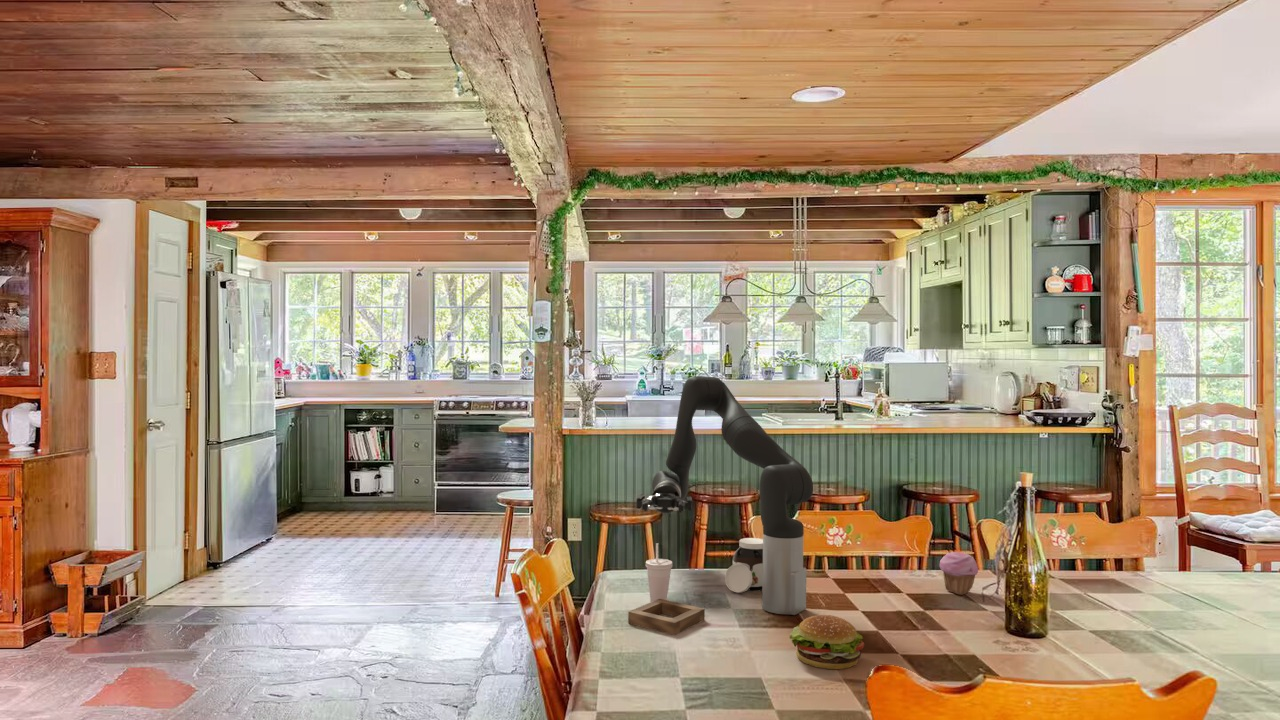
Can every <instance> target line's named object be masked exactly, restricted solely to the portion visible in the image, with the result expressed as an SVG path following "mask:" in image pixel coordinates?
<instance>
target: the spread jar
mask: <svg viewBox="0 0 1280 720" xmlns="http://www.w3.org/2000/svg"><path fill="white" fill-rule="evenodd" d="M738 542H739V543H738V544H739V547H738V548H737V549H736V550H735V552H734V553H733V557H732V565H731V566H729V567H728V568H727V570H726V571H725V574H724V582H725V585H726V587H727V588H728V589H729V590H730V591H732V592H734V593H738V594H741V593H745V592H747V591H751V592H752V591H754V592H755V591H762V572H763V538H758V537H744V538H741V539H739V541H738Z"/></svg>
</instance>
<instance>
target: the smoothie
mask: <svg viewBox="0 0 1280 720" xmlns="http://www.w3.org/2000/svg"><path fill="white" fill-rule="evenodd" d="M645 567H646V570H647V579H648V591H649V600H650V602H653V601H655V600H658V599H663V600H668V596H669V595H668V593H669V586H670V579H671V570H672V568H673V567H674V566H673V561H672V560H669V559H666V558H659V542H658V543H655V558H650V559H647V560H646V561H645Z"/></svg>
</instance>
